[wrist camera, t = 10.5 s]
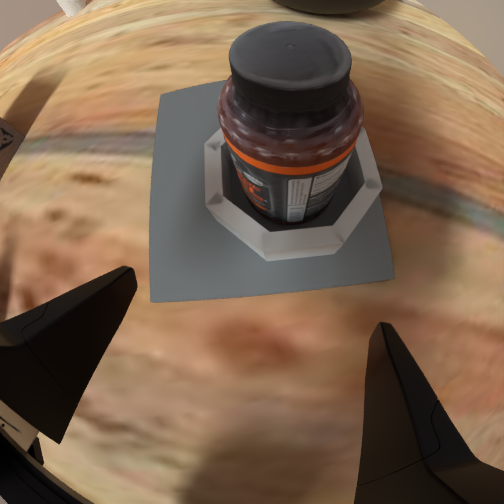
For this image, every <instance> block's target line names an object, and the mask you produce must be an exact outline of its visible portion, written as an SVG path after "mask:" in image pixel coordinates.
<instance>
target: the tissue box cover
mask: <svg viewBox="0 0 504 504" xmlns="http://www.w3.org/2000/svg"><path fill="white" fill-rule="evenodd" d="M24 138H25V136H23V135H22V134H21V133H20V132H18V131H17V130H16V129H15V128H13V127H12V126H11V125H10V124H8V123H7V122H6V121H5V120H3V119H2V118H1V117H0V180H1V178H2V176H3V174H4V173H5V171H6V169H7V167H8V165H9V163H10V162H11V160H12V158H13V156H14V155H15V153H16V151H17V150H18V148H19V146H20V145H21V143H22V142H23V140H24Z"/></svg>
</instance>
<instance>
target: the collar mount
mask: <svg viewBox="0 0 504 504" xmlns="http://www.w3.org/2000/svg"><path fill="white" fill-rule="evenodd" d="M226 81H227V80H223V81H218V82H212V83H207V84H202V85H198V86H193V87H189V88H185V89H180V90H176V91H173V92H169V93H165V94H161V96H160V102H159V109H158V116H157V124H156V133H155V142H154V152H153V163H152V176H151V193H150V217H149V275H150V300H151V302H154V303H160V302H179V301H196V300H211V299H224V298H237V297H249V296H260V295H271V294H281V293H291V292H300V291H309V290H318V289H326V288H334V287H342V286H350V285H357V284H365V283H372V282H379V281H385V280H391V279H395V276H394V269H393V262H392V255H391V249H390V243H389V238H388V232H387V227H386V222H385V217H384V213H383V208H382V204H381V199H380V195H379V193H380V191H381V190H382V189H383V187H382V184H381V180H380V176H379V173H378V169H377V165H376V162H375V159H374V155H373V152H372V149H371V146H370V143H369V139H368V136H367V133H366V130H365V128H363V127H361V130H360V133H359V136H358V138H357V141H356V144H355V146H354V149H353V151H352V154H351V156H350V159H349V161H348V163H347V166H346V168H345V171H344V173H343V175H342V178H341V180H340V182H339V185H338V187H337V189H336V191H335V194H334V196H333V198H332V200H331V202H330V203H329V205H328V207H327V208H326V209H325V211H324V212H323V213H321V214H320V215H319V216H318V217H316V218H315V219H313V220H311V221H309V222H306V223H303V224H298V225H282V224H277V223H274V222H272V221H270V220H268V219H266V218H264V217H263V216H261V215H260V214H259V213H258V212H257V211H256V210H255V209H254V208H253V207H252V206H251V204H250V203H249V201H248V199H247V198H246V196H245V193H244V190H243V187H242V185H241V182H240V179H239V176H238V174H237V170H236V168H235V165H234V163H233V160H232V158H231V155H230V151H229V149H228V147H227V145H226V141H225V139H224V135H223V132H222V129H221V126H220V123H219V118H218V110H217V105H218V100H219V95H220V92H221V90H222V88H223V86H224V84H225V83H226Z"/></svg>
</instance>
